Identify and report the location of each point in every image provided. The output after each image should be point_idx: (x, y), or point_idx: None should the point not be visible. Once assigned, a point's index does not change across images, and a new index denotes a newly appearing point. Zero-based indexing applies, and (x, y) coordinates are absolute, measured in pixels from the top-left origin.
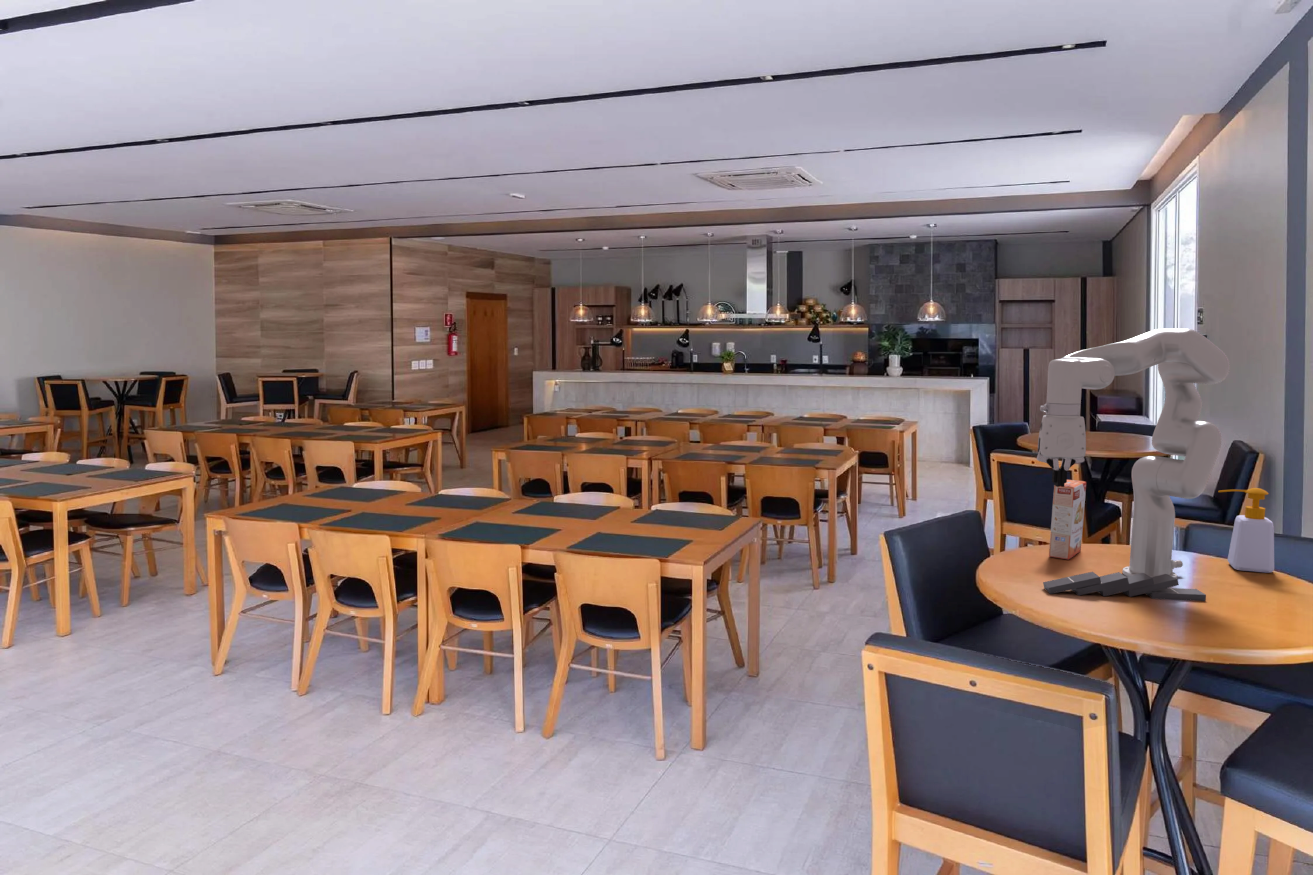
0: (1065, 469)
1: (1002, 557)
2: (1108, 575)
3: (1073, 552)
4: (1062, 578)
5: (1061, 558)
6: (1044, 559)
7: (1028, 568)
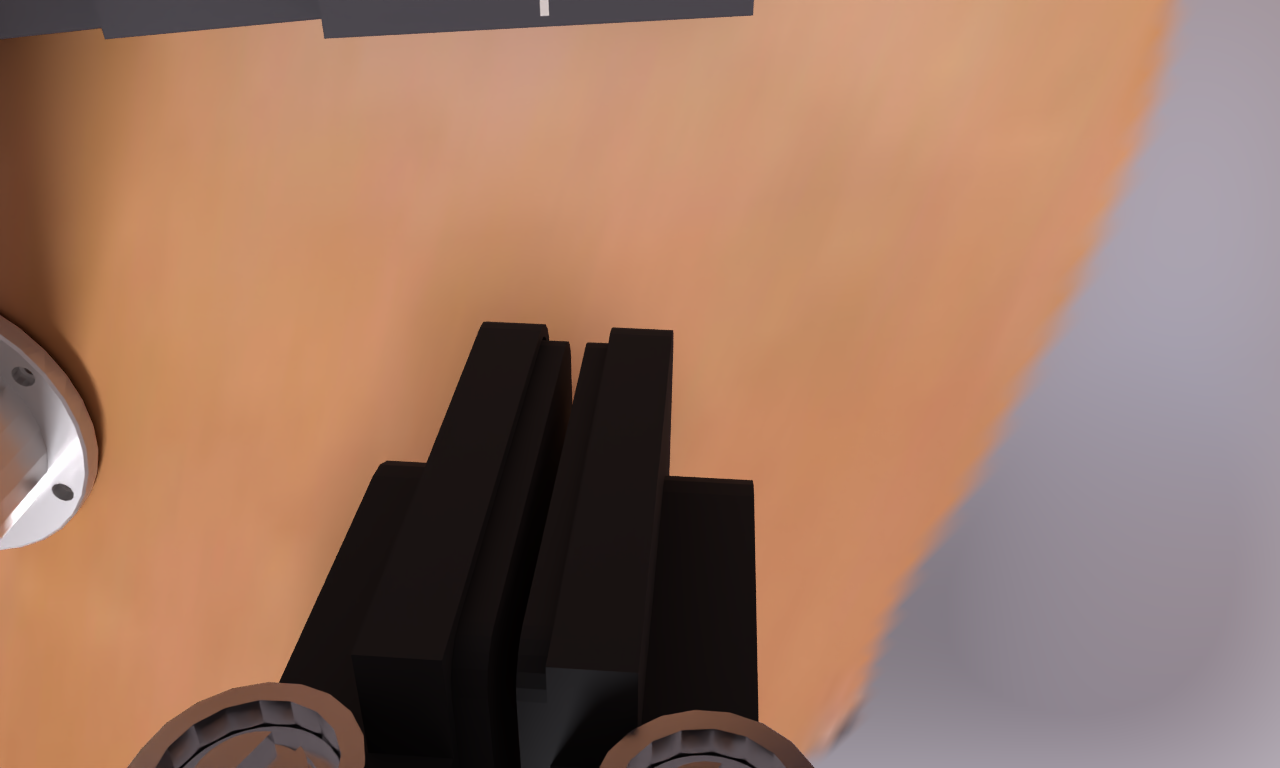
0: (318, 740)
1: (766, 716)
2: (203, 5)
3: None
4: (593, 11)
5: None
6: None
7: None
